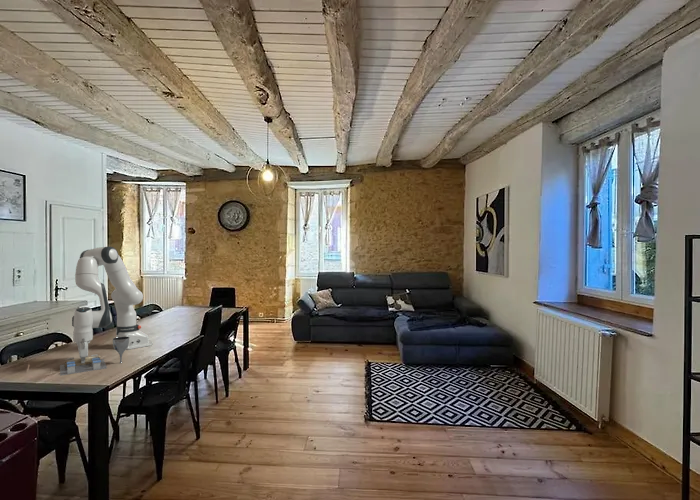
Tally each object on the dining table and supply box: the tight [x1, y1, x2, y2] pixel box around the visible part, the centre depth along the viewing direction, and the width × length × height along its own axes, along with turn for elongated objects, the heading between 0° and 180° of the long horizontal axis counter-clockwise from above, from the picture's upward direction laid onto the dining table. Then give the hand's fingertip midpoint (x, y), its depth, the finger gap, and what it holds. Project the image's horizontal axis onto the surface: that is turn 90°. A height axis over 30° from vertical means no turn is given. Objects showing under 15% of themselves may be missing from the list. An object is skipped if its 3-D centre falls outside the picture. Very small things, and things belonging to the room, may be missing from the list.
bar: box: [64, 355, 101, 367], centre depth 207 cm, size 16×3×3 cm, turn 128°
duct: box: [59, 353, 108, 377], centre depth 203 cm, size 20×21×5 cm
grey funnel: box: [112, 336, 129, 364], centre depth 210 cm, size 8×8×15 cm
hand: (82, 362), depth 207 cm, fingers closed on bar, 3 cm apart
